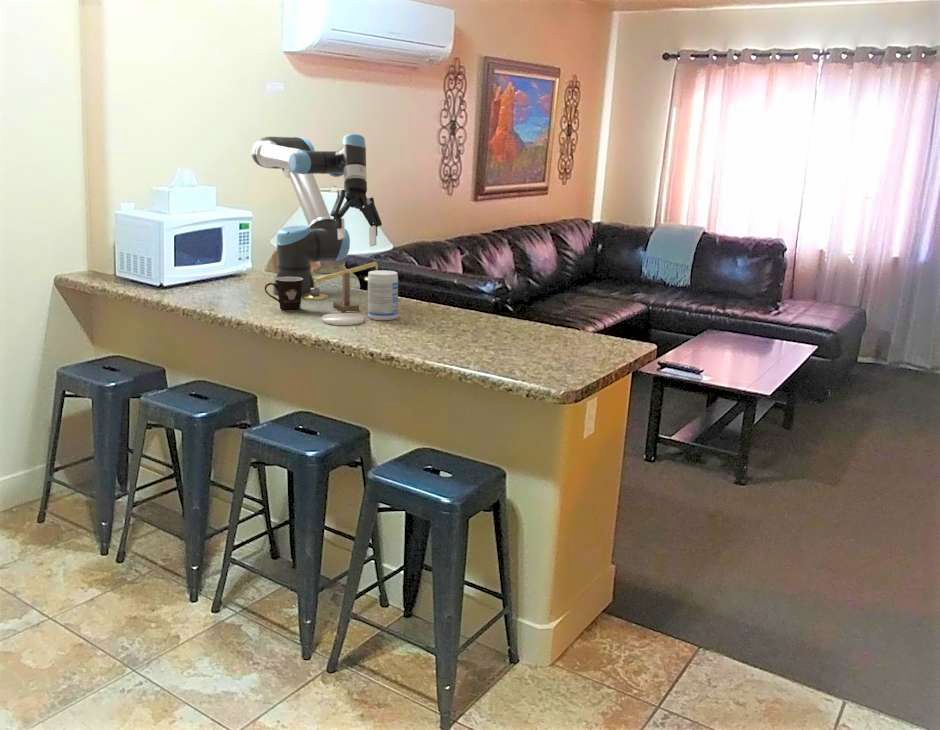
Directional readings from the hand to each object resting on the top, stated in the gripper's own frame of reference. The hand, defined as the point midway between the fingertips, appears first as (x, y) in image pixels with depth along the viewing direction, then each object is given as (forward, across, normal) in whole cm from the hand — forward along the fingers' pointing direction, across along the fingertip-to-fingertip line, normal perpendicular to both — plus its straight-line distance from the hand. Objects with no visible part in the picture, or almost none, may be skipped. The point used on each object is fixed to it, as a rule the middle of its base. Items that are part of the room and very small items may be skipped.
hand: (357, 242), depth 296 cm
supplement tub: (+28, 0, -11) cm, 30 cm away
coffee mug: (+21, -16, +18) cm, 32 cm away
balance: (+22, -2, +5) cm, 23 cm away
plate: (+29, -13, -7) cm, 32 cm away
